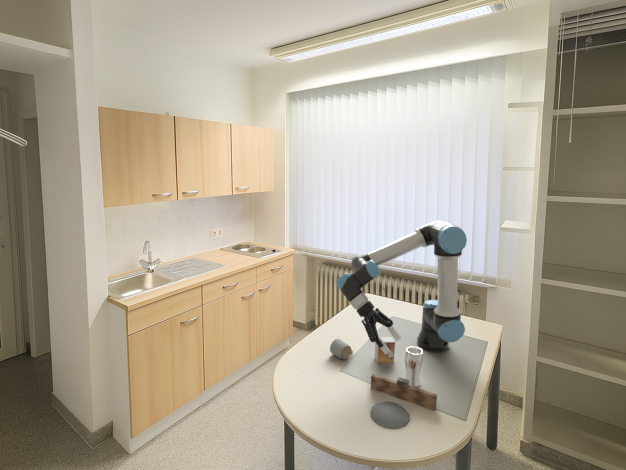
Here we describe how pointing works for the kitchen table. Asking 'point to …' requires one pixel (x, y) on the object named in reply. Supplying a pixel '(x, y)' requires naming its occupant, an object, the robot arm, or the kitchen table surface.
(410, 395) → the board
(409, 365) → the beer glass
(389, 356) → the small box
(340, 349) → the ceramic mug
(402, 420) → the round pad
